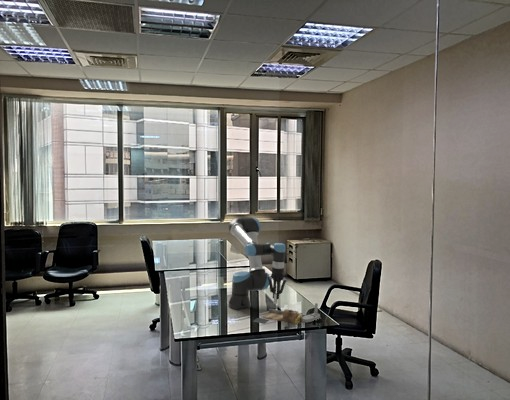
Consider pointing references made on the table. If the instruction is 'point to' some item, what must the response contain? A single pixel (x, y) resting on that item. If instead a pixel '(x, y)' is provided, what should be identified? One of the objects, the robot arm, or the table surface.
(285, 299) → the table surface
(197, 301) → the table surface
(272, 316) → the deck
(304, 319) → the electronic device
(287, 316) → the clip block
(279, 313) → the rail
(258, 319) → the mat
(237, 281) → the robot arm
